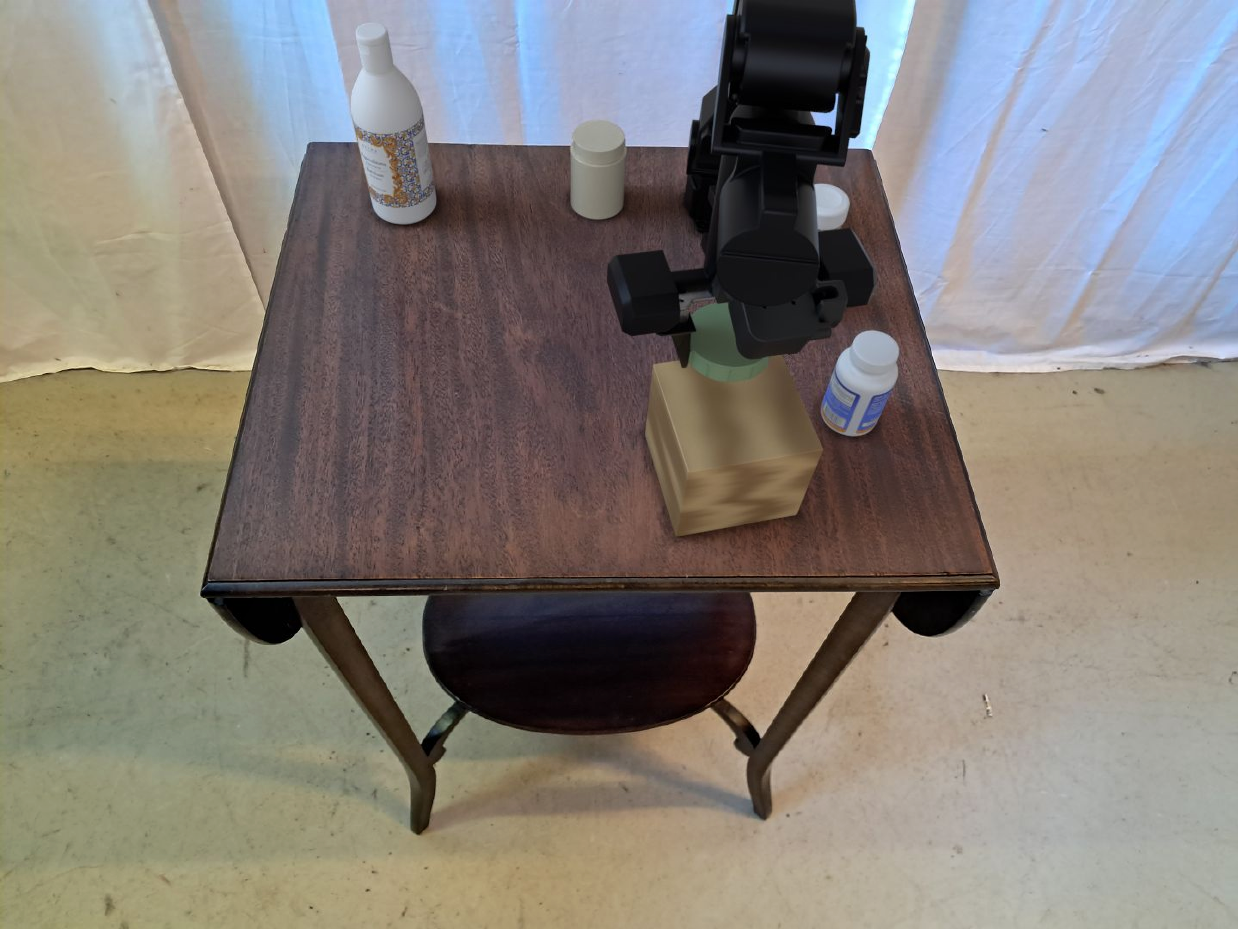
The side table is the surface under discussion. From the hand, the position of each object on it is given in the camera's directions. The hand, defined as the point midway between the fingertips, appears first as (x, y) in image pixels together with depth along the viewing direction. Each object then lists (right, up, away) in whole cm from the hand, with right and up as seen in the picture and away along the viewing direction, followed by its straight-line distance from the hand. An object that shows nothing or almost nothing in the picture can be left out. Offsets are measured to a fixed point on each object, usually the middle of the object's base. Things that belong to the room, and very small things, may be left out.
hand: (724, 358), depth 70 cm
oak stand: (+1, -9, +9) cm, 13 cm away
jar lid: (0, +1, -2) cm, 2 cm away
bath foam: (-32, +20, +27) cm, 47 cm away
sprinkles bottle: (+10, +8, +22) cm, 25 cm away
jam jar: (-11, +21, +29) cm, 37 cm away
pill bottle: (+13, -4, +13) cm, 19 cm away
